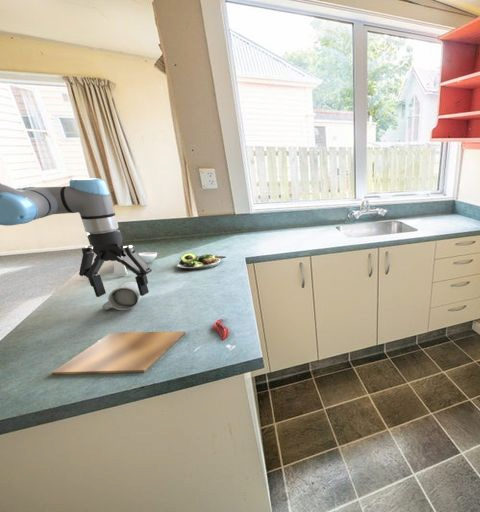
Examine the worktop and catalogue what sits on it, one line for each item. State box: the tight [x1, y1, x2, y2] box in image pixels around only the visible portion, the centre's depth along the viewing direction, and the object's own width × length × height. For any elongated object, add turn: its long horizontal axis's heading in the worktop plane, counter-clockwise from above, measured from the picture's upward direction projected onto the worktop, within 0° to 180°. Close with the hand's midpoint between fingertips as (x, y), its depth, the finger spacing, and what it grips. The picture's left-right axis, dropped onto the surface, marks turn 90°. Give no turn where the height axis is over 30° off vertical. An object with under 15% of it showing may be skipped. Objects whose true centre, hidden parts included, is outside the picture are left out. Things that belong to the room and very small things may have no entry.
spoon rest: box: [113, 251, 158, 277], centre depth 131 cm, size 24×12×7 cm, turn 14°
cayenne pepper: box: [211, 318, 230, 341], centre depth 84 cm, size 12×5×2 cm, turn 22°
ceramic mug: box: [101, 281, 144, 311], centre depth 96 cm, size 11×8×8 cm
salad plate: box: [177, 252, 228, 272], centre depth 136 cm, size 19×18×5 cm
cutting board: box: [51, 330, 186, 376], centre depth 74 cm, size 20×16×1 cm
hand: (123, 294), depth 96 cm, fingers open, 13 cm apart
